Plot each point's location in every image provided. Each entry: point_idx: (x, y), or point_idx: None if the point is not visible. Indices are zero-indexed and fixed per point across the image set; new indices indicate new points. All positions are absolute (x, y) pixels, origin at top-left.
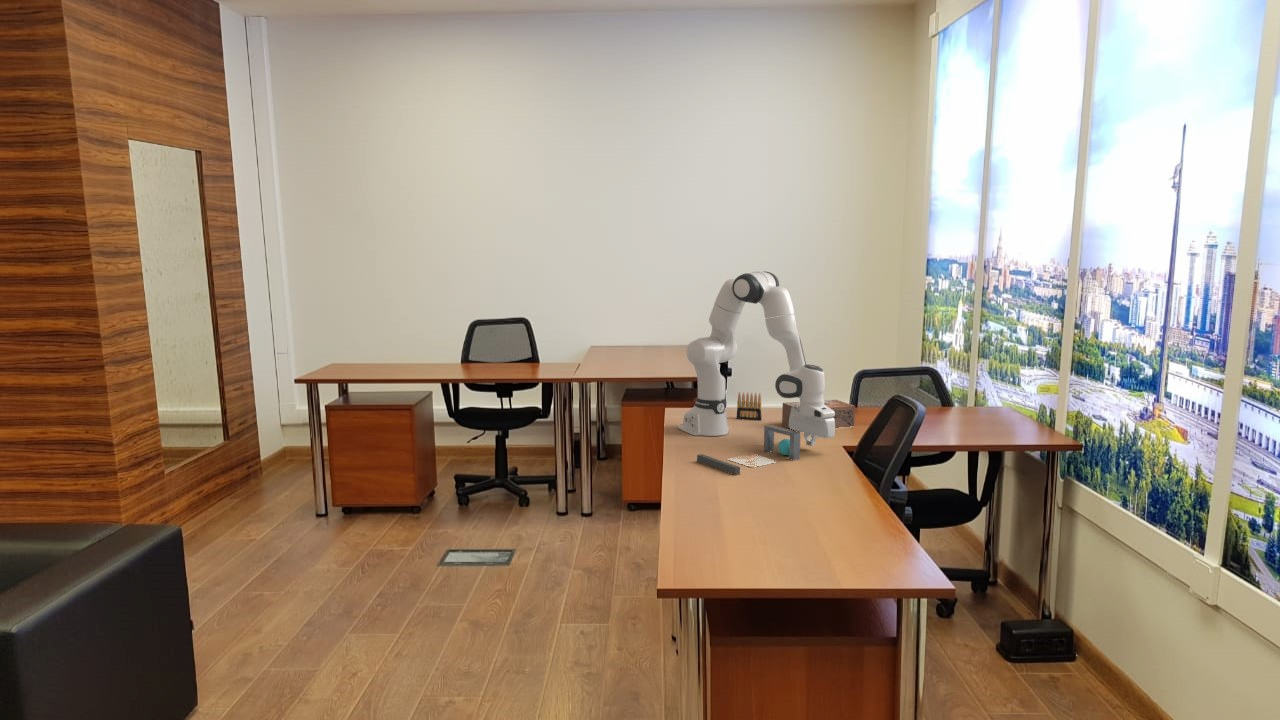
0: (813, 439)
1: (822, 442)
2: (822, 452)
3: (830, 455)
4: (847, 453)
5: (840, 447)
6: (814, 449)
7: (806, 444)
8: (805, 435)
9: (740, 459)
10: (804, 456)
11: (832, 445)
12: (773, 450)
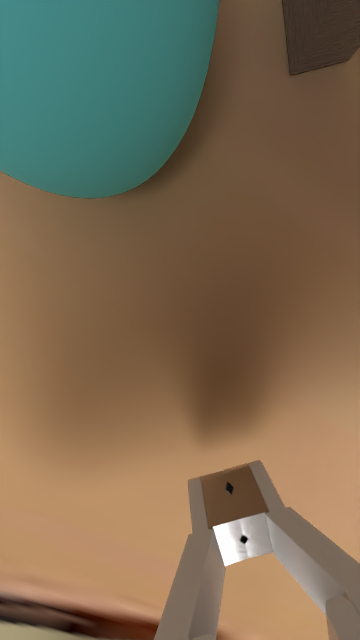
0: (170, 598)
1: None
2: (116, 487)
3: (17, 500)
4: (50, 603)
5: None
6: None
7: (254, 462)
8: (349, 601)
9: None
10: (22, 297)
11: (255, 598)
12: (298, 58)
